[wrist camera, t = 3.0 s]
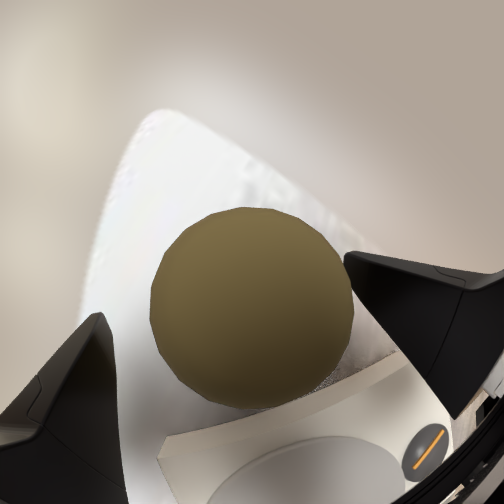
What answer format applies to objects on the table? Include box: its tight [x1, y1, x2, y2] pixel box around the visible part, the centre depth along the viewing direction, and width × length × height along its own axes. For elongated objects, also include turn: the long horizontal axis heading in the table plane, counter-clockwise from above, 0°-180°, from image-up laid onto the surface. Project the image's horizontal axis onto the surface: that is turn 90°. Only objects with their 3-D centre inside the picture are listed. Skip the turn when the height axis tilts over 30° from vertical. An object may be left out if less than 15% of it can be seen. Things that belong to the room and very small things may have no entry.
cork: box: [150, 207, 354, 409], centre depth 10 cm, size 6×6×11 cm
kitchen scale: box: [157, 351, 455, 504], centre depth 10 cm, size 13×16×5 cm
